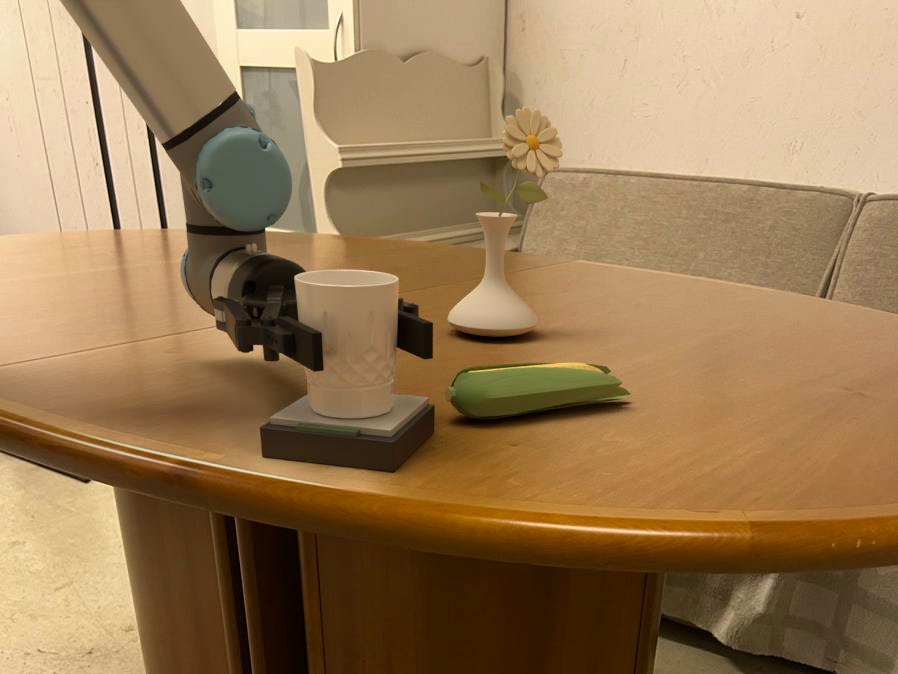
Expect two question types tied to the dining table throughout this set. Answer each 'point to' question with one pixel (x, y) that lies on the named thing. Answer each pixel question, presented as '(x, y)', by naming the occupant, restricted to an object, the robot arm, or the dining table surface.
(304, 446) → the scale
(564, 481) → the dining table surface
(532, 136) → the flower in vase
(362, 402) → the white cup
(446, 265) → the dining table surface
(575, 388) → the edible corn
